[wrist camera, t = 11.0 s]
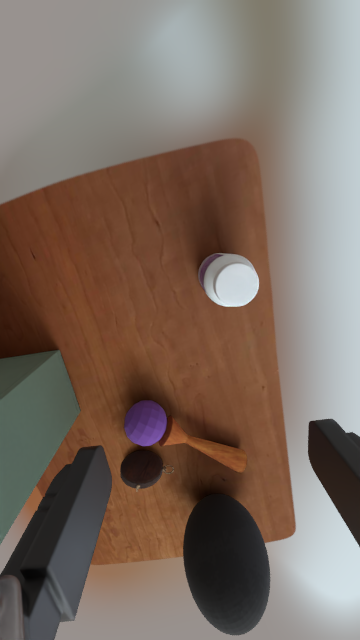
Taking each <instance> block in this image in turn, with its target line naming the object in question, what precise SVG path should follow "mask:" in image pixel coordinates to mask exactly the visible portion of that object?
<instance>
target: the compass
mask: <svg viewBox="0 0 360 640" xmlns="http://www.w3.org/2000/svg"><path fill="white" fill-rule="evenodd" d="M166 466H171V465H166ZM166 466H164V467H163V463H162V460H161V459H160V457H159V456H158V455H156V454H155V453H153V452H151V451H145V450H143V451H136V452H133V453H131V454H129V455H128V456H127V457H126V458H125V459H124V460H123V462H122V464H121V470H120V472H121V478H122V480H123V482H124V483H125V484H126V485H128V486H130V487H132V488H136V491H137V490H138V489H141V488H147V487H150V486H152V485H153V484H155V483H156V482H157V481H158V480H159V479H160V477H161V475H162V471H164V473H166V472H165V471H166ZM171 467H172V468H173V466H171ZM173 471H174V468H173ZM173 471H172V472H173ZM172 472H170V473H172ZM170 473H166V474H170ZM137 492H138V491H137Z"/></svg>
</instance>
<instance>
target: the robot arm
mask: <svg viewBox="0 0 360 640" xmlns="http://www.w3.org/2000/svg"><path fill="white" fill-rule="evenodd" d="M308 439H309V440H308V455H309V460H310V463H311V466H312V468H313V470H314V472H315V473H316V475H317V477H318V478H319V480H320V482H321V483H322V485H323V487H324V488H325V490H326V492H327V493H328V495H329V497H330V498H331V500H332V502H333V503H334V505H335V507H336V508H337V510H338V512H339V513H340V515H341V517H342V518H343V520H344V521H345V523H346V525H347V526H348V528H349V530H350V531H351V533H352V535H353V536H354V538H355V540H356V541H357V543H358V544H359V546H360V437H359V436H358V435H356V434H355V433H353V432H351V433H345V431H344V430H343V429H342V428H341V427H340V426H339V425H338V424H337V422H336V421H334V420H333V419H324V420H316V421H310V422H309V436H308ZM111 487H112V476H111V472H110V468H109V465H108V462H107V459H106V455H105V452H104V449H103V447H102V446H101V445H99V446H90V447H82V448H80V449H79V451H78V453H77V455H76V457H75V459H74V461H73V463H72V464H67V465H65V467H64V468H63V469H62V470H61V471H60V472H59V473H58V474H57V475H56V476H55V477H54V479H53V481H52V482H51V484H50V486H49V488H48V490H47V492H46V493H45V497H43V499H42V501H41V502H40V504H39V506H38V510H37V511H36V512H35V513H34V515H33V517H32V519H31V521H30V522H29V524H28V526H27V528H26V530H25V532H24V533H23V535H22V537H21V539H20V541H19V543H18V544H17V546H16V548H15V550H14V552H13V553H12V555H11V557H10V559H9V561H8V563H7V564H6V566H5V568H4V570H3V571H2V573H1V574H0V640H54V638H55V635H56V632H57V629H58V626H59V623H60V622H64V621H74V620H75V616H76V613H77V609H78V606H79V602H80V599H81V595H82V591H83V588H84V585H85V581H86V577H87V574H88V570H89V567H90V563H91V560H92V556H93V553H94V549H95V546H96V542H97V539H98V535H99V532H100V528H101V525H102V521H103V518H104V514H105V511H106V507H107V503H108V500H109V496H110V493H111Z"/></svg>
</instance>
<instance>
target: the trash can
mask: <svg viewBox="0 0 360 640" xmlns="http://www.w3.org/2000/svg"><path fill="white" fill-rule="evenodd" d="M80 411H81V410H80V408H79V405H78V402H77V399H76V396H75V393H74V390H73V387H72V385H71V382H70V379H69V376H68V373H67V370H66V367H65V364H64V362H63V359H62V356H61V353H60V350H55V351H48V352H42V353H35V354H29V355H22V356H16V357H10V358H3V359H0V544H1V543H2V541H3V539H4V537H5V536H6V534H7V533H8V531H9V529H10V528H11V526H12V524H13V523H14V521H15V519H16V518H17V516H18V514H19V513H20V511H21V509H22V507H23V506H24V504H25V502H26V501H27V499H28V498H29V496H30V494H31V493H32V491H33V489H34V488H35V486H36V484H37V483H38V481H39V479H40V478H41V476H42V474H43V473H44V471H45V469H46V468H47V466H48V464H49V463H50V461H51V459H52V458H53V456H54V454H55V453H56V451H57V450H58V448H59V446H60V445H61V443H62V441H63V440H64V438H65V436H66V435H67V433H68V431H69V430H70V428H71V426H72V425H73V423H74V421H75V420H76V418H77V416H78V414H79V413H80Z"/></svg>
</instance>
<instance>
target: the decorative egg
mask: <svg viewBox="0 0 360 640" xmlns="http://www.w3.org/2000/svg"><path fill="white" fill-rule="evenodd" d="M183 556H184V566H185V572H186V577H187V580H188V584H189V587H190V590H191V593H192V596H193V598H194V600H195V602H196V604H197V606H198V608H199V609H200V611H201V612H202V614H203V615H204V617H205V618H206V619H207V620H208V621H209V622H210V623H211V624H212V625H213V626H214V627H215V628H217V629H218V630H220V631H222V632H223V633H226V634H230V635H241V634H245V633H247V632H249V631H250V630H251V629H253V628H254V627H255V626H256V625H257V623H258V622H259V621H260V619H261V617H262V615H263V613H264V611H265V609H266V605H267V602H268V596H269V590H270V568H269V561H268V555H267V550H266V547H265V543H264V540H263V538H262V535H261V532H260V530H259V528H258V526H257V524H256V523H255V521H254V519H253V517H252V516H251V515H250V513H249V512H248V511H247V510H246V508H245V507H244V506H243V505H242V504H240V503H239V502H238V501H237V500H235V499H234V498H232V497H230V496H227V495H224V494H212V495H209V496H206V497H205V498H203V499H202V500H201V501H199V502H198V503H197V505H196V506H195V507H194V509H193V510H192V512H191V514H190V516H189V519H188V522H187V525H186V529H185V534H184V545H183Z"/></svg>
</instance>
